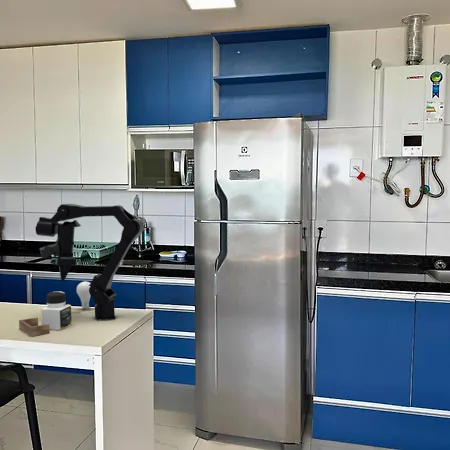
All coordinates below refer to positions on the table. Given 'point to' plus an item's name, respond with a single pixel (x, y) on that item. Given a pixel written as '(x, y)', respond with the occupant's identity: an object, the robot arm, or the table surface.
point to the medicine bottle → (56, 311)
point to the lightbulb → (84, 294)
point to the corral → (33, 327)
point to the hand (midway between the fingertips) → (62, 280)
